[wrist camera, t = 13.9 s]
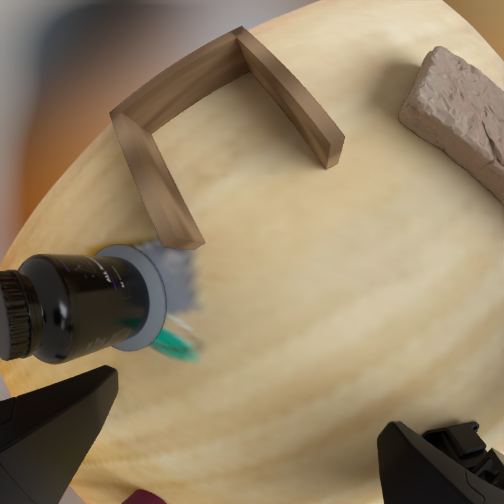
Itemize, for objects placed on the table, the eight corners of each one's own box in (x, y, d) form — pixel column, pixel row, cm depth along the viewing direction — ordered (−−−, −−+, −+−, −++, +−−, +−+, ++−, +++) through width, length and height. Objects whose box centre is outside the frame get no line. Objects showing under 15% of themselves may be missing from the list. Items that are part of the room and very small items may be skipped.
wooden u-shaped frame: (338, 163, 18) (345, 136, 14) (194, 249, 20) (163, 247, 15) (253, 59, 19) (241, 25, 15) (139, 133, 21) (109, 113, 17)
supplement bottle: (151, 254, 20) (13, 248, 8) (157, 342, 20) (36, 399, 8) (90, 257, 21) (-27, 254, 10) (95, 332, 21) (-14, 363, 9)
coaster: (165, 360, 20) (162, 363, 20) (87, 335, 22) (83, 336, 21) (170, 249, 20) (166, 249, 20) (89, 241, 22) (85, 241, 22)
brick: (393, 125, 17) (411, 94, 13) (419, 65, 17) (434, 34, 12) (528, 239, 14) (561, 235, 10) (541, 169, 14) (567, 157, 9)
